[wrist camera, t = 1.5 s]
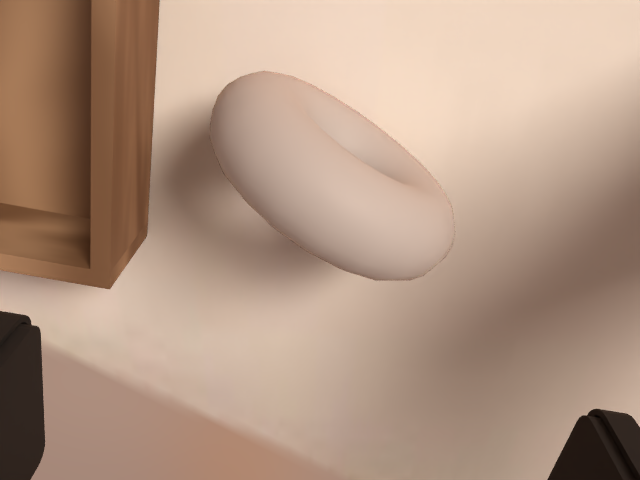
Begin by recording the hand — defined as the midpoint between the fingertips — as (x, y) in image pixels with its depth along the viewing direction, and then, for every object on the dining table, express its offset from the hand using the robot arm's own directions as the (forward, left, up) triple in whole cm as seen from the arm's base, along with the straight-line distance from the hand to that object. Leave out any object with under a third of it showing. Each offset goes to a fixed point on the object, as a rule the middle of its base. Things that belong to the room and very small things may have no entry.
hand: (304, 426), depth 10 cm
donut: (0, 0, -18) cm, 18 cm away
